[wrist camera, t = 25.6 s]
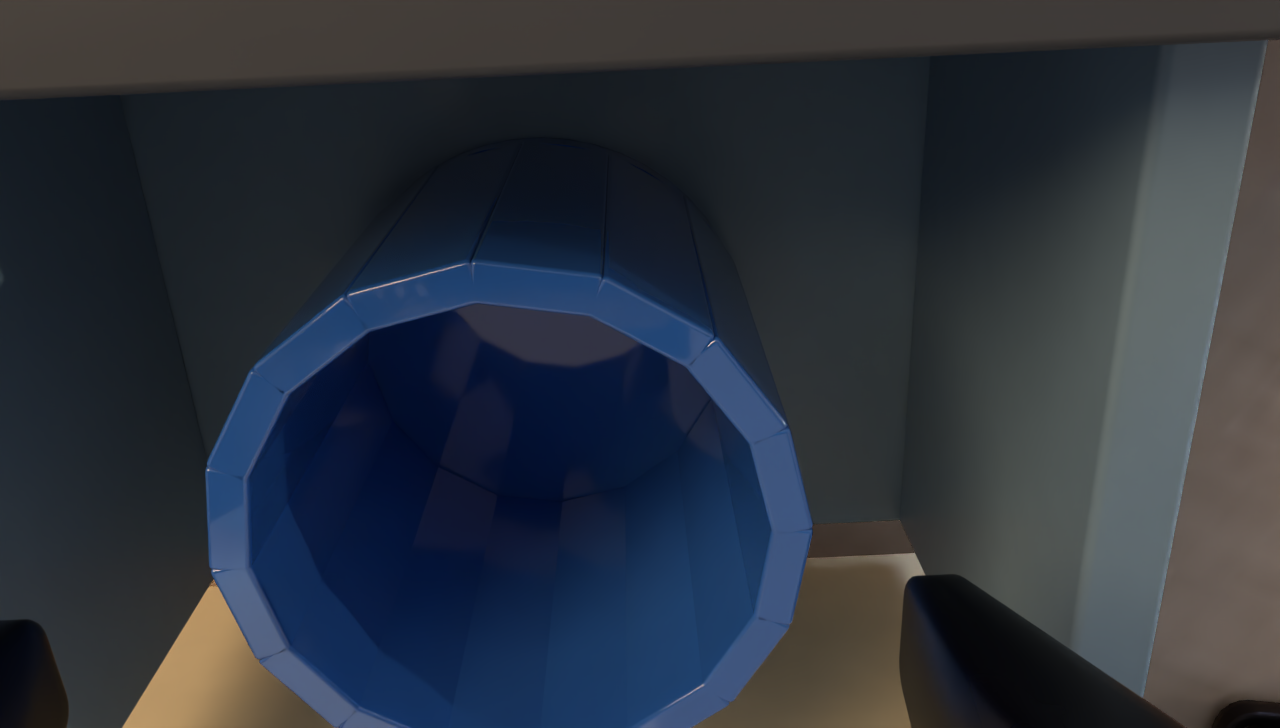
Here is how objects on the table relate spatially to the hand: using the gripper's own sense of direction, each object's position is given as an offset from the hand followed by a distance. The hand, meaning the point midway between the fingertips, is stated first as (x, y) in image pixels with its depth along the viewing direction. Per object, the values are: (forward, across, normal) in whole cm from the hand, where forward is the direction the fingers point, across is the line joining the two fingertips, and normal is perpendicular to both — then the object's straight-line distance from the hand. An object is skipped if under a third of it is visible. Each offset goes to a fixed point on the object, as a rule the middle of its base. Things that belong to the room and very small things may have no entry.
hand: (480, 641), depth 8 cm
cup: (+7, 0, 0) cm, 7 cm away
